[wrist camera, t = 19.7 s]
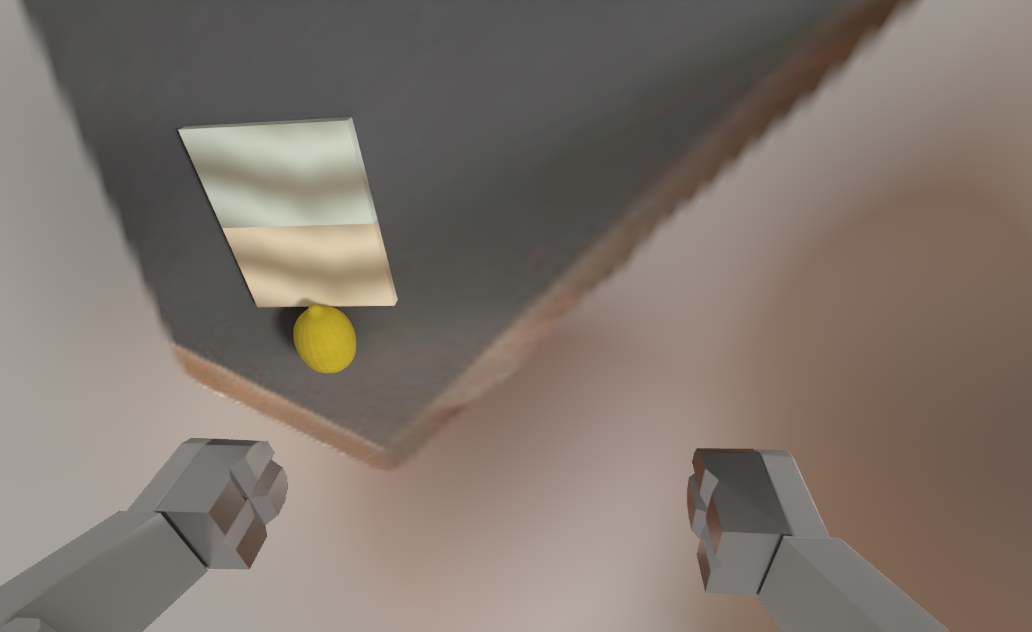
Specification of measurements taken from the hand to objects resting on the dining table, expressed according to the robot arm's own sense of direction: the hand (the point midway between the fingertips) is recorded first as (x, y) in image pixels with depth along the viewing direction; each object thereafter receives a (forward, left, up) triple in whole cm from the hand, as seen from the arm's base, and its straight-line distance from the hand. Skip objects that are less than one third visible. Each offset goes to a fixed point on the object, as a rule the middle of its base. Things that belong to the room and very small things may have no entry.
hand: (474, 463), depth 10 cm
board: (+9, -22, -33) cm, 41 cm away
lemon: (+16, -22, -30) cm, 41 cm away
